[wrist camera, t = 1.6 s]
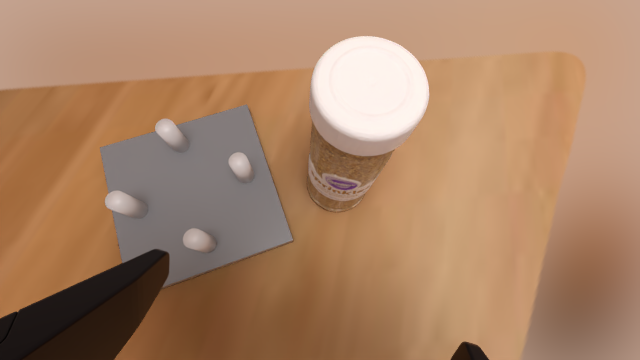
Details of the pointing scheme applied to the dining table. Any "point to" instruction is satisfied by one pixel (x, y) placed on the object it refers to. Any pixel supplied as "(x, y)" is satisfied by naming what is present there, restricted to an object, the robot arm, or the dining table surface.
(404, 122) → the sprinkles bottle
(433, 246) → the dining table surface
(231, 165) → the pin tray
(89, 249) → the dining table surface
